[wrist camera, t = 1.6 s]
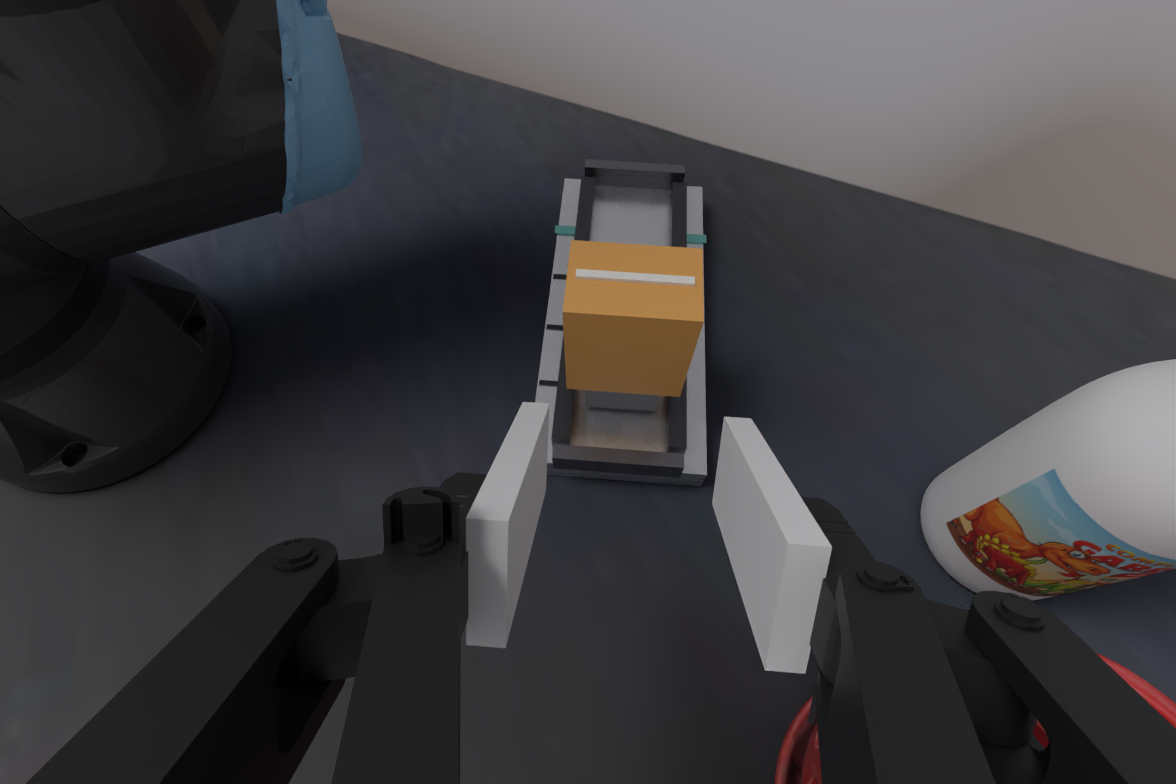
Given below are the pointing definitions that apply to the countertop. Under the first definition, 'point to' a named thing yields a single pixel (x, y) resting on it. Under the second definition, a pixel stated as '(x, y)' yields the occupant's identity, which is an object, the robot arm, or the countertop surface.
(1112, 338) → the countertop surface
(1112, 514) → the milk bottle
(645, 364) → the fader knob
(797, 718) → the plant pot
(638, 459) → the fader strip
